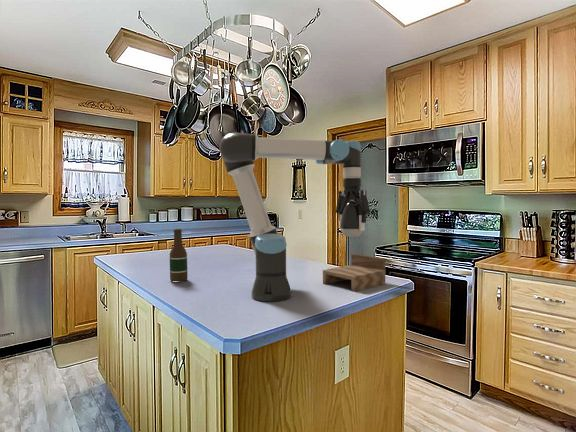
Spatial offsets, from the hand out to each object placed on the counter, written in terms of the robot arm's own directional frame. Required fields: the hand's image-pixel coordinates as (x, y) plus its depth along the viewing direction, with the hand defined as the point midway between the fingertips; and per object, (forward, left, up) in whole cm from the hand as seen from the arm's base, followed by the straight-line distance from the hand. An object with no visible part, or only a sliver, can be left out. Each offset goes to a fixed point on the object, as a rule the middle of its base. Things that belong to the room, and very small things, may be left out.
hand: (352, 229), depth 153 cm
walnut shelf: (+1, 0, -24) cm, 24 cm away
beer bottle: (-55, +57, -24) cm, 83 cm away
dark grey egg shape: (0, 0, -3) cm, 3 cm away
